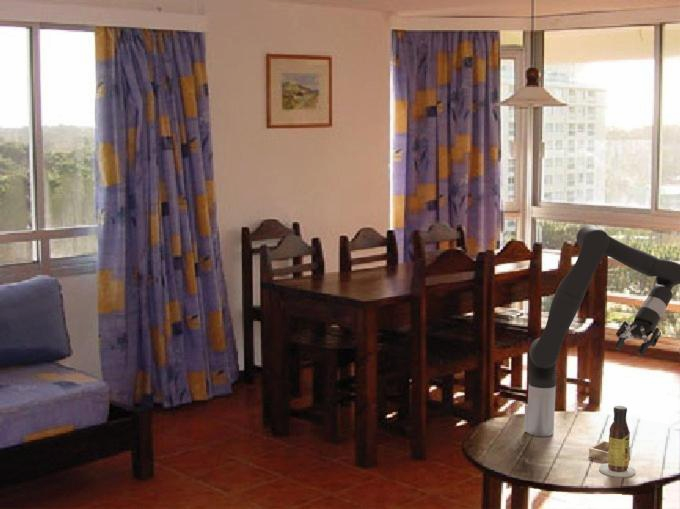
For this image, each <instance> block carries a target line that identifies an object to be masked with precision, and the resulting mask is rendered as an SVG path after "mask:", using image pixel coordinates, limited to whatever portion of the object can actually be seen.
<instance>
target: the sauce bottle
mask: <svg viewBox="0 0 680 509" xmlns="http://www.w3.org/2000/svg"><path fill="white" fill-rule="evenodd" d="M627 413H628V408H627V407H626V406H623V405H615V406H614V407H613V422H612V424H610V427H609V435H608V442H609V450H608V451H607V452H608V462H607V463H609V464H608V468H609V469H610V470H613V471H619V472H622V471H626V470H627V469H628V466H629V463H630V462H629V459H630V456H629V447H630V439H631V438H630V436H631V435H630V434H631V432H630V430H629V426H628V423H627Z"/></svg>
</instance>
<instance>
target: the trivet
mask: <svg viewBox="0 0 680 509" xmlns="http://www.w3.org/2000/svg"><path fill="white" fill-rule="evenodd" d="M608 464H609V463H608V462H607V463H602V464H600V465H599V466H598V469H599V470H600V471H599V472H600V473H601V474H603V475H606V476H609V477H613V476H615V477H614V478H630V477H633V476H635V475H636V469H635V468H634V467H633V466H630V465H628V469H627V470H626V471H622V472H619V471H613V470H610V469H609V468H608Z"/></svg>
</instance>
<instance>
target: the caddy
mask: <svg viewBox="0 0 680 509" xmlns="http://www.w3.org/2000/svg"><path fill="white" fill-rule="evenodd" d="M588 449H589V450H588V457H589V458H591V457H592V458H591V459H595V458H596V460H599V461H604V462H607V463H608V450H609V440H602V441H601V442H598V443H597V444H594V445H592V446H590V447H589V448H588ZM630 456H631V446H629V457H630Z"/></svg>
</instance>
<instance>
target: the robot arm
mask: <svg viewBox="0 0 680 509" xmlns="http://www.w3.org/2000/svg"><path fill="white" fill-rule="evenodd" d="M576 243H577V245H578V246H579V248H580V251H579V253H578V256H577V259H576V261H575V263H574V265H573V266H572V268H571V269H570V270H569V272H568V273H567V274H566V275H565V276H564V277H563V278H562V279H561V281H560V283H559V284H558V286H557V288H556V291H555V294H553V295H554V296H553V298H552V301H551V303H550V307H549V311H548V316H547V320H546V323H545V327H544V328H543V329H544V330H543V331H542V332H541V335H540V337H538V338H536V339H534V340H533V341H532V342H531V343H530V346H529V350H528V392H527V393H528V394H527V395H528V396H527V404H525V406H524V428H523V429H524V430H523V432H525V433H527V434H528V435H530V436H535V437H550V436H553V435H554V431H555V415H556V414H555V412H556V387H557V374H556V372H557V370H556V365H557V364H556V362H557V361H558V359H559V355H560V352H561V348H562V346H563V343H564V339H565V337H566V335H567V333H568V331H569V329H570V327H571V325H572V323H573V321H574V319H575V317H576V315H577V313H578V312H579V309H580V307H581V305H582V303H583V301H584V298H585V295H586V293H587V290H588V289H589V286H590V285H591V284H590V283H591V281H592V279H593V276H594V274H595V273H596V270H597V268H598V267H599V264H600V263H601V261H602V259H603V257H604V256H607V257H608V258H611V259H613V260H615V261H617V262H618V263H620V264H623V265H624V266H626V267H628V268H629V269H632V270H633V271H636V272H638V273H640V274H643V275H645V276H647V277H650V278H651V277H653V278H654V277H655V279H654V282H653V287H652V289H651V291H650V292H649V294H648V296H647V297H646V298H645V300H644V301H643V303H642V304H641V306H640V308H639V310H638V311H637V313H636V314H635V315H634V320H633V321H632V322H631V323H628V322H627V321H626V320H624V321H623V322H622V324H621V325H620V326H619V328H618V330H617V332H616V333H615V335H616V336H617V338H618V339H617V341H616V343H615V348H616V350H618V351H621V349H622V348H623V346H624V344H625V342H626V341H628V340H632V339H640V340H643V342H642V343H641V345H640V346H639V347H638V350H637V354H638V355H639V356H642V355H644V354H645V353H646V351H647V349H648V348H649V347H655V346H656V345H657V343H658V340H659V339H660V337H661V335H662V332H661V330H660V329H659V327H657V326H658V324H659V323H660V321H661V319H662V317H663V315H664V314H665V311H666V309H667V307H668V305H669V304H670V301H672V298H673V291H672V289H673V288H674V287H675V286H678V285H680V263H678V262H677V261H674V260H673V261H672V260H668V259H664V258H659V257H656V256H655V255H653V254H650V253H649V252H646V251H643V250H641V249H639V248H636V247H634V246H631V245H629V244H626V243H624V242H622V241H619V240H617V239H615V238H613V237H611V236H610V235H608V233H607V232H606V231H605V230H603V228H600V227H598V226H596V225H593V224H591V225H584V226H582V227H581V228H580V229H578V232H577V233H576ZM650 335H651V336H650ZM649 336H650V337H649Z"/></svg>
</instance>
